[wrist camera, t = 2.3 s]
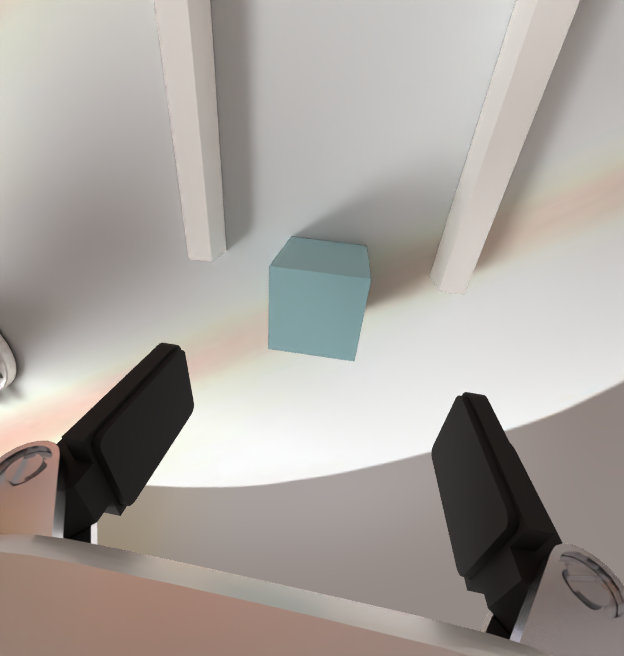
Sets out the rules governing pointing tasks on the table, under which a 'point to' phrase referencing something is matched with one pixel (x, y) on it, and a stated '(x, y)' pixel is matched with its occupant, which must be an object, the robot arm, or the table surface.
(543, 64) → the guide channel
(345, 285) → the block
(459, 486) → the robot arm
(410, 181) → the table surface
